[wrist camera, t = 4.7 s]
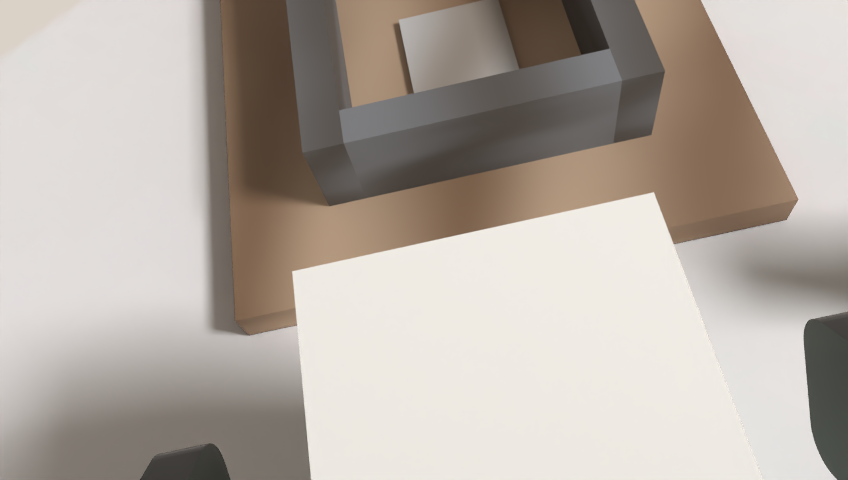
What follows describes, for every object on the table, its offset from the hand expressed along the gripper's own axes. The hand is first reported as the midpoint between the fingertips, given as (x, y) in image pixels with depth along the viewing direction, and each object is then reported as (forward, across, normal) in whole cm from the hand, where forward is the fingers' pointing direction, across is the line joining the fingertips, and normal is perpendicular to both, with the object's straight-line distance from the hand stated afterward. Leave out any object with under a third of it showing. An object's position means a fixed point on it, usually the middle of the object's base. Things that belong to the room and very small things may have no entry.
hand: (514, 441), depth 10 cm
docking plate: (+14, -1, -4) cm, 15 cm away
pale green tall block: (+5, 0, +5) cm, 7 cm away
